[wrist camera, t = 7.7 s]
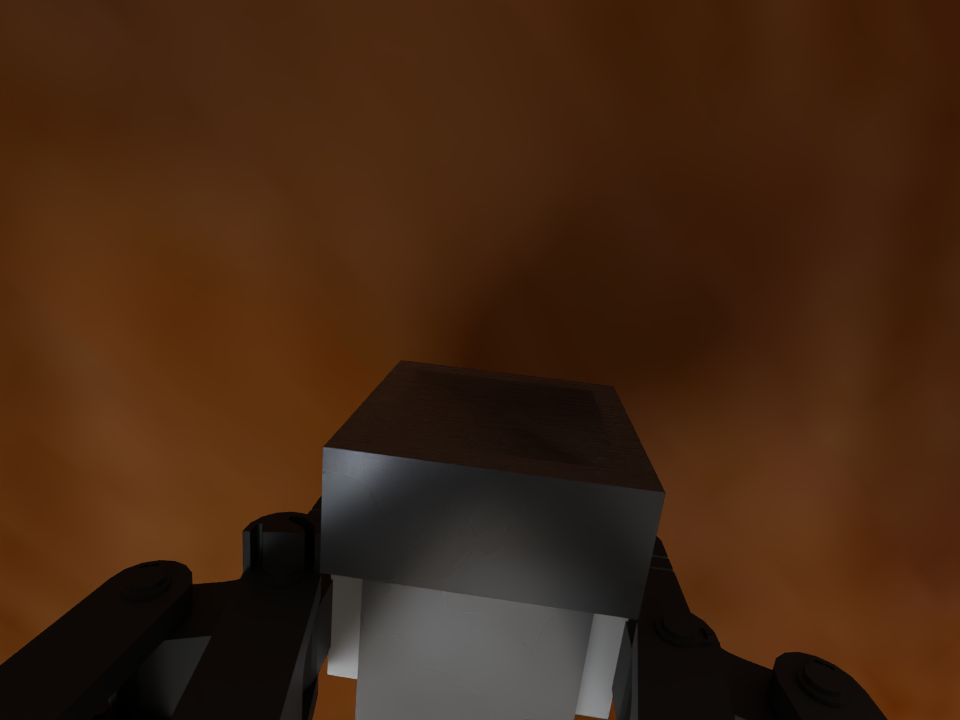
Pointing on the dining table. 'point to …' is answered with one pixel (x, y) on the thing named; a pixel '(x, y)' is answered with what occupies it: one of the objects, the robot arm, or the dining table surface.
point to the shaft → (485, 538)
